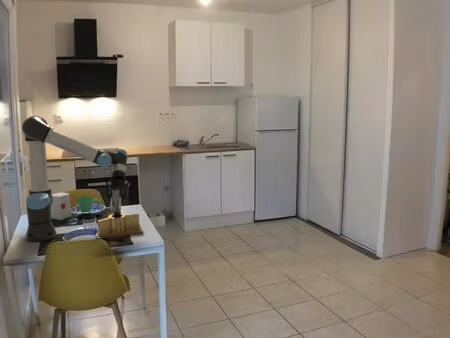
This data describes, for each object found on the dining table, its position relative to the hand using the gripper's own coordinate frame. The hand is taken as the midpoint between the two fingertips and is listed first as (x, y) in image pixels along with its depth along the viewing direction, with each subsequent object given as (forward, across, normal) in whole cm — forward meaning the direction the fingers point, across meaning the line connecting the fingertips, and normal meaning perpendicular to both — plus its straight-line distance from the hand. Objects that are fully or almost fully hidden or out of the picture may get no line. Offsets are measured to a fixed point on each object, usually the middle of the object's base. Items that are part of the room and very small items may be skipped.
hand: (115, 208), depth 229 cm
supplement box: (-14, +41, -35) cm, 56 cm away
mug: (-20, +25, -41) cm, 52 cm away
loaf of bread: (+8, 0, -13) cm, 15 cm away
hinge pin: (+2, 0, -7) cm, 7 cm away
